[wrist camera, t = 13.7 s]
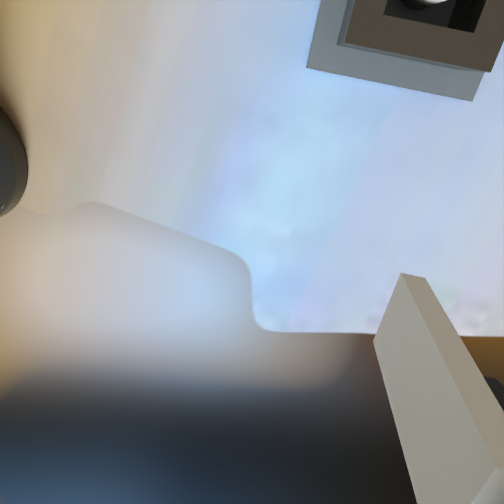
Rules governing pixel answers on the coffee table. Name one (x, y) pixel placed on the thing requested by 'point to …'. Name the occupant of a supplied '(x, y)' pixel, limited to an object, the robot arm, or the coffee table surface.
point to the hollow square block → (428, 34)
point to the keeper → (386, 67)
